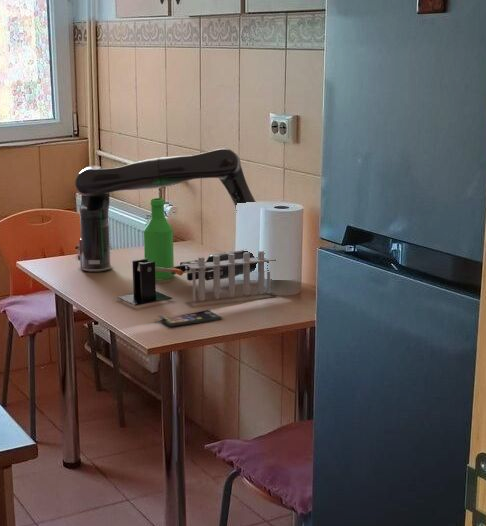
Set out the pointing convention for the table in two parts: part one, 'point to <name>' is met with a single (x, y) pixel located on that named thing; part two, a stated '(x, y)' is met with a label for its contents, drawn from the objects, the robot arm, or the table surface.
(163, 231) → the bottle
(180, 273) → the lever
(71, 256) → the table surface
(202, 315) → the smartphone
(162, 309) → the table surface
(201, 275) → the test tube rack
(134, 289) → the bracket
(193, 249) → the table surface
